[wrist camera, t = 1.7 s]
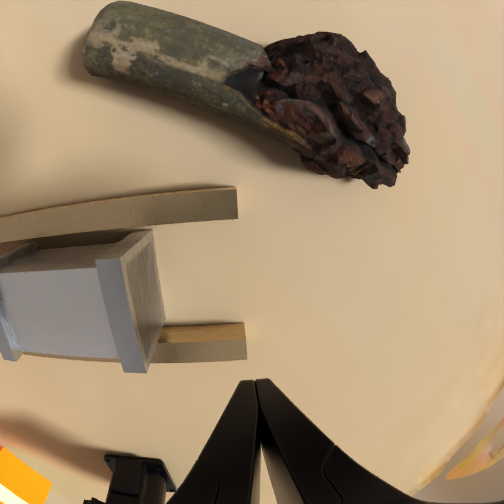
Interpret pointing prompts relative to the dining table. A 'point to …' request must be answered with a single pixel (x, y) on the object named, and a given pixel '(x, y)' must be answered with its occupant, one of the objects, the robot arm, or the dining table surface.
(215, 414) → the dining table surface
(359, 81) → the grey brown wooden log
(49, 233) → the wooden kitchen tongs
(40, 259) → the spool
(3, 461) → the orange juice
